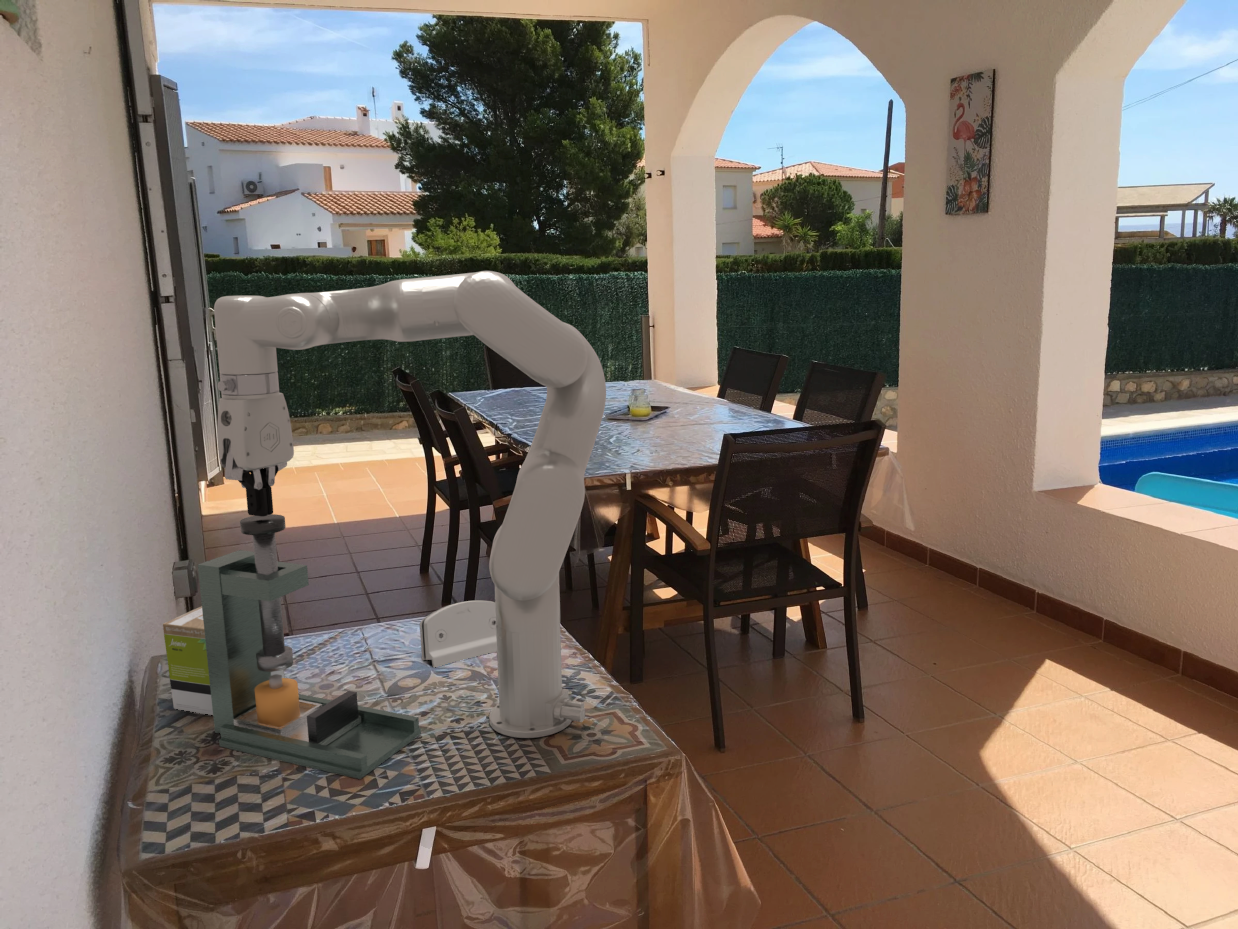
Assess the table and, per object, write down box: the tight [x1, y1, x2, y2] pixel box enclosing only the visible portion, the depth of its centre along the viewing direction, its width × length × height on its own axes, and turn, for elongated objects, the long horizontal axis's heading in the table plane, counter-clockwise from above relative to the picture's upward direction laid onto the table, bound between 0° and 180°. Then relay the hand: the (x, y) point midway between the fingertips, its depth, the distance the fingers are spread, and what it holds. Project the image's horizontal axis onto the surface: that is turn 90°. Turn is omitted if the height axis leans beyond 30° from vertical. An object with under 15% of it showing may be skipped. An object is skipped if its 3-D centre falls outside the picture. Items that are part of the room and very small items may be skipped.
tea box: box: [162, 605, 286, 716], centre depth 153 cm, size 15×10×15 cm
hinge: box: [419, 600, 497, 669], centre depth 171 cm, size 17×5×10 cm, turn 125°
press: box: [197, 549, 422, 780], centre depth 137 cm, size 29×14×26 cm, turn 67°
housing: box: [255, 674, 300, 727], centre depth 141 cm, size 6×6×6 cm
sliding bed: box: [233, 690, 361, 746], centre depth 140 cm, size 15×10×5 cm, turn 67°
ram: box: [239, 513, 294, 672], centre depth 138 cm, size 6×6×22 cm
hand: (260, 514), depth 135 cm, fingers closed
